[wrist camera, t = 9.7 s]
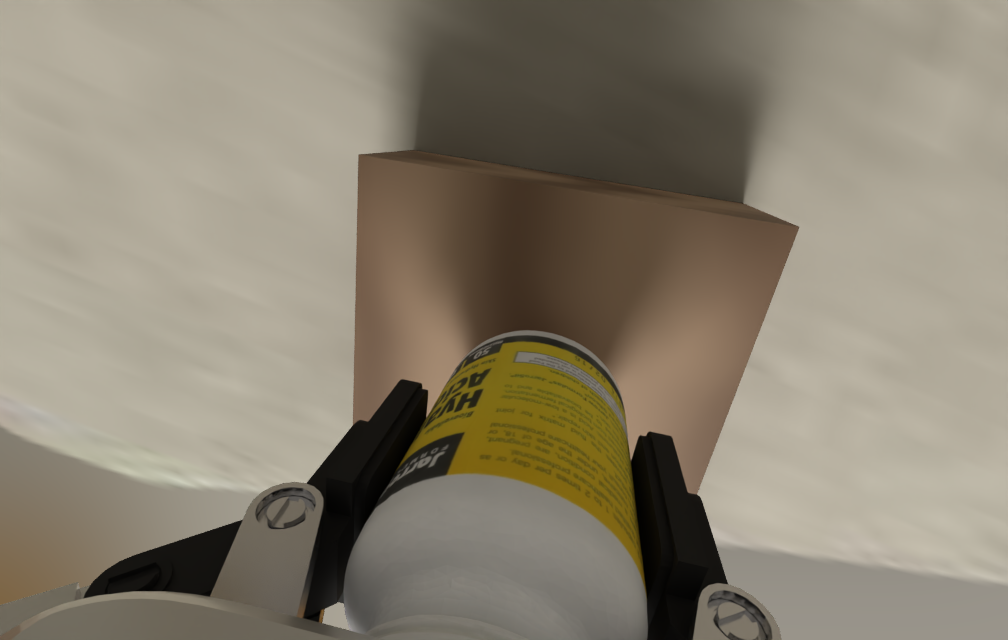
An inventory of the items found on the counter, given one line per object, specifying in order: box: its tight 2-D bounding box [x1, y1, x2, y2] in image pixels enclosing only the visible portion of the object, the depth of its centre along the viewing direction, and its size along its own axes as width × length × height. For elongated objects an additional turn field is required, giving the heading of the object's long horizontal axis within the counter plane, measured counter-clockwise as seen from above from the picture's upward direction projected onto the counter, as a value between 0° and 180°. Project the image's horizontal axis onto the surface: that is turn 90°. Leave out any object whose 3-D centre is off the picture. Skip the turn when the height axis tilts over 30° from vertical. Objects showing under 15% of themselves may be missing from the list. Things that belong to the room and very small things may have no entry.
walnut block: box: [353, 150, 799, 495], centre depth 19 cm, size 13×13×5 cm
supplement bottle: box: [344, 330, 648, 640], centre depth 10 cm, size 5×5×10 cm
